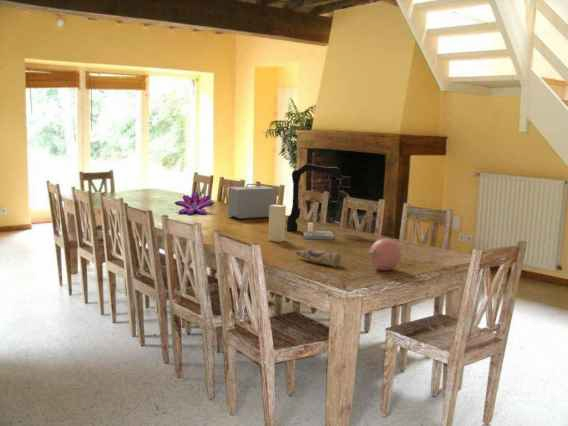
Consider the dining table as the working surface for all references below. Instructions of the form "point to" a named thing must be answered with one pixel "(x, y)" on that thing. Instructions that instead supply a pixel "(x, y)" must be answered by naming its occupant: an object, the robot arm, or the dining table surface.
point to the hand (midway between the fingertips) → (333, 210)
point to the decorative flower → (194, 204)
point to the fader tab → (310, 227)
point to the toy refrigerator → (276, 223)
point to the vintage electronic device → (251, 201)
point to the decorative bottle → (321, 257)
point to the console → (318, 235)
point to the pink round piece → (384, 254)
